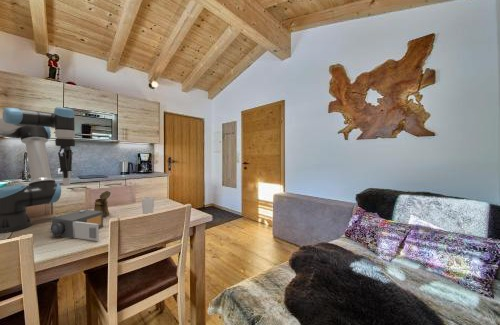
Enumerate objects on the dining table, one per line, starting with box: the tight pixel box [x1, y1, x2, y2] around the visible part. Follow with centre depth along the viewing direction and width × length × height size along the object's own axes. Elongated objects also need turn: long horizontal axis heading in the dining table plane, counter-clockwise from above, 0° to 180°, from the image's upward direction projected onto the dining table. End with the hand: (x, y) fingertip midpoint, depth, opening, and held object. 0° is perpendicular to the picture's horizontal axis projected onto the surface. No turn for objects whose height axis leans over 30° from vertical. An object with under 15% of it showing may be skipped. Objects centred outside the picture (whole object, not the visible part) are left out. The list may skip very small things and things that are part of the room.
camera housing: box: [50, 208, 104, 239], centre depth 110 cm, size 14×19×10 cm
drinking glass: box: [141, 195, 155, 215], centre depth 128 cm, size 7×7×15 cm
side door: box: [72, 221, 100, 242], centre depth 100 cm, size 2×15×8 cm, turn 78°
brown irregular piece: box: [93, 190, 111, 218], centre depth 135 cm, size 9×14×18 cm, turn 57°
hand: (66, 183), depth 107 cm, fingers closed
